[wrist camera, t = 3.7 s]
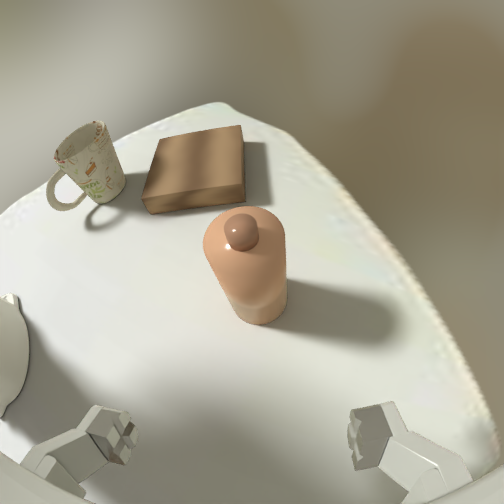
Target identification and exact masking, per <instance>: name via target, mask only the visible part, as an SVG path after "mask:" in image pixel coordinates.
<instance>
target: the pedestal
mask: <svg viewBox="0 0 504 504" xmlns="http://www.w3.org/2000/svg"><path fill="white" fill-rule="evenodd" d="M141 200H142V201H143V203H144V205H145V206H146V208H147V209H148V211H149V213H150V214H156V213H163V212H170V211H176V210H183V209H191V208H198V207H206V206H213V205H221V204H230V203H238V202H245V171H244V140H243V135H242V130H241V125H236V126H229V127H222V128H216V129H209V130H204V131H198V132H192V133H187V134H182V135H177V136H172V137H168V138H163V139H160V140H159V143H158V146H157V149H156V151H155V154H154V158H153V161H152V164H151V167H150V170H149V173H148V177H147V180H146V183H145V187H144V190H143V194H142V197H141Z"/></svg>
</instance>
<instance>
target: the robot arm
mask: <svg viewBox="0 0 504 504" xmlns="http://www.w3.org/2000/svg"><path fill="white" fill-rule="evenodd" d="M28 361H29V337H28V331H27V327H26V323H25V321H24V319H23V317H22V315H21V313H20V311H19V305H18V298H17V296H16V295H15V294H13V293H9V294H6V295H3V296H1V297H0V417H2V415H3V414H4V411H5V409H6V406H7V405H8V404H9V403H11V402H12V401H13V400H14V399H15V398H16V397H17V396H18V394H19V393H20V391H21V389H22V386H23V384H24V381H25V377H26V373H27V368H28ZM130 419H131V417H130V415H129V414H128V412H126V411H121V410H116V409H112V408H107V407H102V406H98V405H94V406H92V407H91V409H90V410H89V411H88V413H87V414H86V415H85V417H84V418H83V420H82V421H81V422H80V424H79V425H78V426H77V428H76V429H71V430H69V431H66V432H64V433H62V434H60V435H58V436H56V437H54V438H51V439H49V440H47V441H45V442H42V443H40V444H38V445H35V446H33V447H32V449H31V450H30V451H29V453H28V454H27V455H26V457H25V458H24V459H23V461H22V462H21V463H20V465H19V464H18V463H16V462H15V461H13V460H12V459H10V458H9V457H7V456H6V455H5V454H3V453H2V452H0V504H95V503H93V502H90V501H88V500H85V499H83V498H84V496H85V494H86V491H85V490H84V489H83V488H82V487H81V486H80V485H79V483H80V482H82V481H83V480H85V479H86V478H87V477H89V476H90V475H92V474H93V473H95V472H96V471H97V470H99V469H100V468H101V467H103V466H104V465H106V464H107V463H108V461H109V462H113V463H117V464H121V465H126V464H127V462H128V460H129V458H130V456H131V451H130V449H132V448H133V447H135V446H136V444H137V441H138V431H137V428H136V426H135V425H134V424H133V423H131V422H130ZM350 421H351V423H349V424H348V430H347V437H348V444H349V448H351V449H352V450H353V453H352V461H353V465H354V469H355V471H357V470H362V469H367V468H372V467H377V466H378V467H379V468H380V469H381V470H382V471H383V472H385V473H386V474H387V475H388V476H389V477H391V478H392V479H393V480H394V481H396V482H397V483H398V484H399V485H401V486H402V487H403V488H404V489H406V490H407V491H408V492H409V493H408V494H407V496H406V497H405V499H404V500H403V501H402V503H401V504H504V464H502V465H501V466H499V467H498V468H496V469H494V470H493V471H491V472H489V473H488V474H486V475H484V476H483V477H481V478H479V479H477V480H476V481H473V479H472V477H471V475H470V473H469V471H468V469H467V467H466V465H465V464H464V462H463V460H462V458H461V456H460V455H458V454H455V453H453V452H451V451H449V450H447V449H445V448H443V447H441V446H440V445H438V444H436V443H434V442H432V441H430V440H428V439H426V438H424V437H422V436H420V435H419V434H417V433H415V432H413V431H410V432H408V430H407V428H406V426H405V424H404V422H403V420H402V418H401V416H400V413H399V411H398V409H397V407H396V405H395V403H394V402H393V401H390V402H385V403H381V404H376V405H372V406H367V407H362V408H357V409H352V410H351V412H350Z"/></svg>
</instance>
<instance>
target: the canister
mask: <svg viewBox="0 0 504 504" xmlns="http://www.w3.org/2000/svg"><path fill="white" fill-rule="evenodd" d="M203 249H204V253H205V256H206V258H207V260H208V262H209V264H210V266H211V268H212V269H213V271H214V273H215V275H216V277H217V279H218V281H219V283H220V285H221V287H222V289H223V291H224V292H225V294H226V296H227V298H228V300H229V302H230V304H231V306H232V308H233V309H234V311H235V313H236V314H237V316H238V317H239V318H240V319H242V320H243V321H245V322H247V323H250V324H254V325H262V324H267V323H270V322H272V321H274V320H275V319H277V318H278V317H279V316H280V315H281V314H282V312H283V311H284V309H285V307H286V303H287V277H286V249H285V232H284V228H283V226H282V224H281V222H280V221H279V219H278V218H277V217H276V216H275V215H274V214H272V213H271V212H269V211H267V210H265V209H262V208H259V207H253V206H243V207H237V208H233V209H230V210H228V211H226V212H224V213H222V214H221V215H219V216H218V217H217V218H215V219H214V220H213V221H212V223H211V224H210V225H209V227H208V228H207V230H206V232H205V235H204V239H203Z"/></svg>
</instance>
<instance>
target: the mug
mask: <svg viewBox="0 0 504 504" xmlns="http://www.w3.org/2000/svg"><path fill="white" fill-rule="evenodd" d="M54 160H55V162H56V163H57V164H58V165H59V166H60V168H59V169H58V170H57V171H56V172H55V173H54V174H53V175H52V177H51V178H50V179H49V181H48V183H47V188H46V196H47V200H48V202H49V204H50V205H51V207H52V208H54V209H56V210H58V211H67V210H70V209H73V208H75V207H77V206H78V205H79V204H80V203H81V202H82V201H83V200H84V198H85V197H86V196H87V195H88V196H89V197H90V198H91V199H92V200H93V201H94V202H96V203H99V204H102V203H106V202H109V201H111V200H112V199H114V198H115V197H116V196H117V195H118V194H119V193H120V192H121V191H122V190H123V188H124V186H125V183H126V179H125V176H124V173H123V170H122V168H121V165H120V163H119V160H118V157H117V155H116V152H115V149H114V147H113V144H112V141H111V138H110V135H109V133H108V130H107V127H106V125H105V123H104V122H103V121H93V122H90V123H88V124H85V125H83V126H82V127H80V128H78V129H77V130H75V131H74V132H73V133H71V134H70V135H69V136H68V137H67V138H66V139H65V140H64V141H63V142H62V143H61V144H60V145H59V147H58V148H57V150H56V152H55V155H54ZM65 174H67V175H68V176H69V177H70V178H71V179H72V180H73V181H74V182H75V183H76V184H77V185H78V186H79V187H80V188H81V189H82V190H83V191H84V193H82V194H81V195H80V196H79V197H78V198H77V199H76V200H75V201H74V202H73V203H68V204H65V203H61V202H59V201H58V200H57V199H56V198H55V194H54V188H55V185H56V183H57V182H58V181H59V180H60V179H61V178H62V177H63V176H64V175H65Z"/></svg>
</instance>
